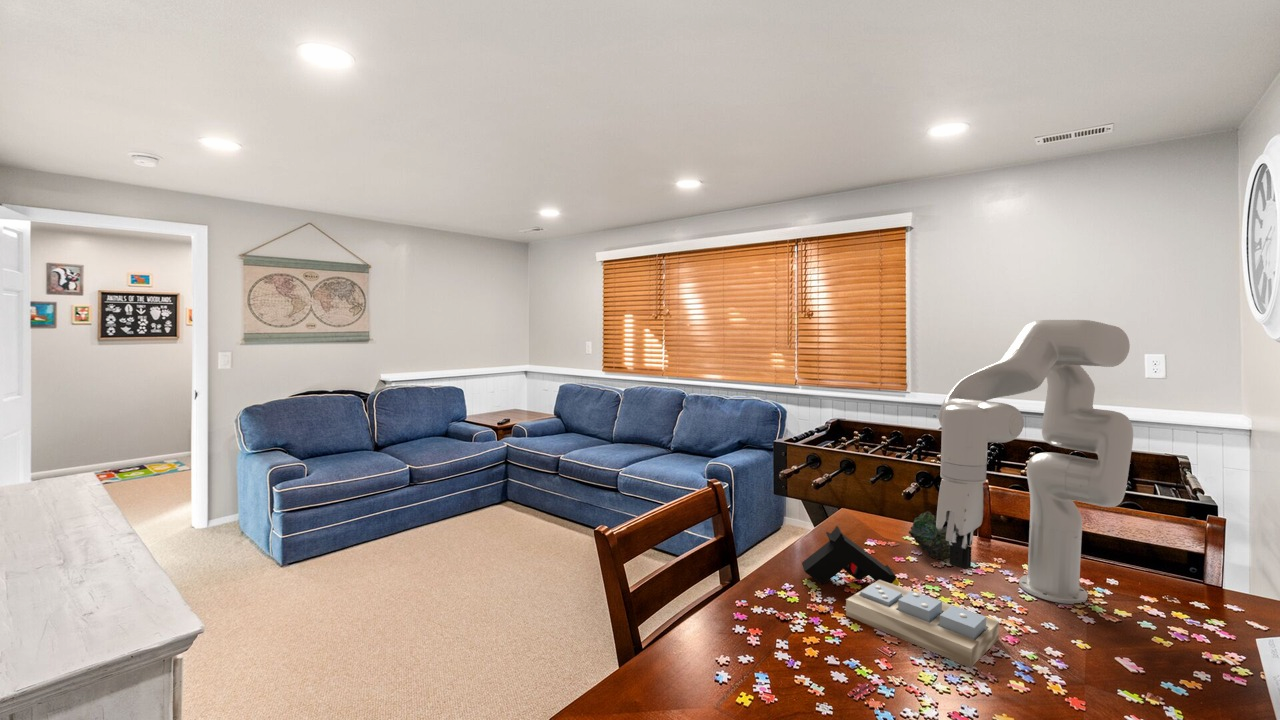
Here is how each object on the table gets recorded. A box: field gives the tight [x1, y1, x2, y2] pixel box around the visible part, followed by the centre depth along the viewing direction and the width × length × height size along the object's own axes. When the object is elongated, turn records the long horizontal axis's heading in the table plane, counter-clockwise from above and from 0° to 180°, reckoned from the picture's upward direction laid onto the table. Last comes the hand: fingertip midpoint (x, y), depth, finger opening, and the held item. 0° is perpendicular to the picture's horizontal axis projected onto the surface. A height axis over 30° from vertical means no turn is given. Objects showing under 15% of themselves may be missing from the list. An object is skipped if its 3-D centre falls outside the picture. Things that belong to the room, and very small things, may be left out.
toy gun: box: [801, 525, 900, 586], centre depth 135 cm, size 5×18×12 cm
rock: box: [908, 510, 950, 561], centre depth 152 cm, size 14×11×10 cm
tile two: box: [898, 590, 943, 623], centre depth 115 cm, size 6×6×3 cm
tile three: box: [860, 582, 902, 607], centre depth 121 cm, size 6×6×3 cm
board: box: [845, 580, 1000, 669], centre depth 115 cm, size 14×24×4 cm, turn 40°
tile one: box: [940, 604, 987, 640], centre depth 109 cm, size 6×6×3 cm
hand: (960, 565), depth 109 cm, fingers closed
